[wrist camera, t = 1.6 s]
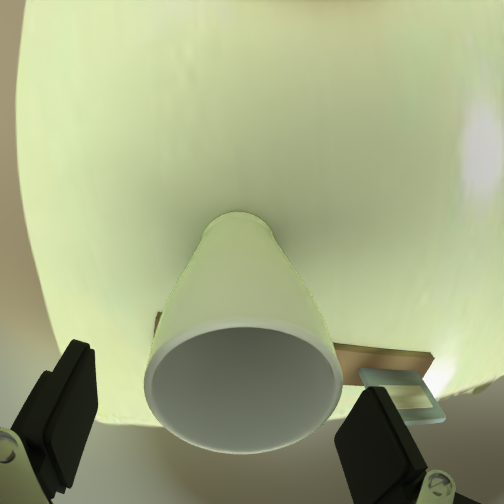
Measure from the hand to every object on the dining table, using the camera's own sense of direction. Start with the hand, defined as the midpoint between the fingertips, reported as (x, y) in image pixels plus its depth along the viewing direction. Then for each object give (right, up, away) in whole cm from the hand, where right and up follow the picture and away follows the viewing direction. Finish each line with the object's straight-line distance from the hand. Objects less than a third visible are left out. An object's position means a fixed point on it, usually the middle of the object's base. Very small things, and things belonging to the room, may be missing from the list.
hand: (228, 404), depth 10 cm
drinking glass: (0, +6, +14) cm, 15 cm away
